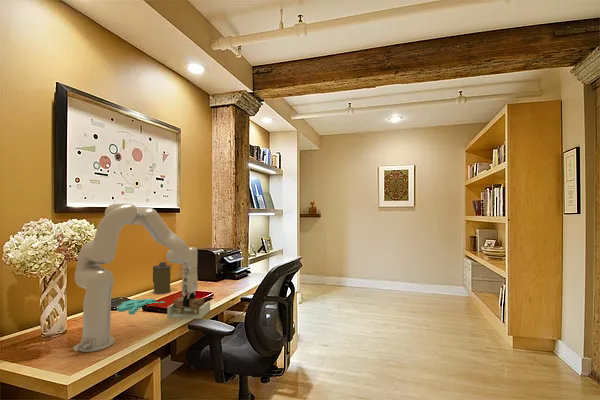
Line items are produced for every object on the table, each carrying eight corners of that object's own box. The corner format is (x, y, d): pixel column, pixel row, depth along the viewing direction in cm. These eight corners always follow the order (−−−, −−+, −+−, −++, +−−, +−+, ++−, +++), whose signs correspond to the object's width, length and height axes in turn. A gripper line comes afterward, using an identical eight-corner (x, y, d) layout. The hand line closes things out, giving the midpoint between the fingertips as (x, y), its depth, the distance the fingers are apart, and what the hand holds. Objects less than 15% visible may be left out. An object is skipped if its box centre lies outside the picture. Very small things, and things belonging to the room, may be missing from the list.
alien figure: (164, 305, 181) (144, 300, 192) (164, 301, 181) (144, 296, 192) (131, 315, 164) (110, 309, 175) (131, 311, 164) (110, 305, 175)
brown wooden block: (203, 305, 167) (203, 298, 167) (198, 308, 161) (199, 301, 161) (179, 303, 169) (179, 297, 169) (173, 307, 163) (173, 300, 163)
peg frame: (201, 318, 158) (201, 308, 158) (167, 317, 160) (167, 306, 160) (209, 311, 170) (210, 301, 170) (178, 310, 172) (178, 300, 172)
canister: (172, 289, 215) (172, 260, 216) (167, 294, 205) (168, 263, 205) (155, 290, 214) (156, 261, 214) (150, 294, 203) (150, 263, 204)
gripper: (189, 274, 157) (188, 310, 156) (202, 267, 174) (202, 300, 173) (175, 273, 157) (174, 309, 157) (190, 267, 175) (189, 299, 174)
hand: (189, 304), depth 165 cm, fingers closed on brown wooden block, 6 cm apart
